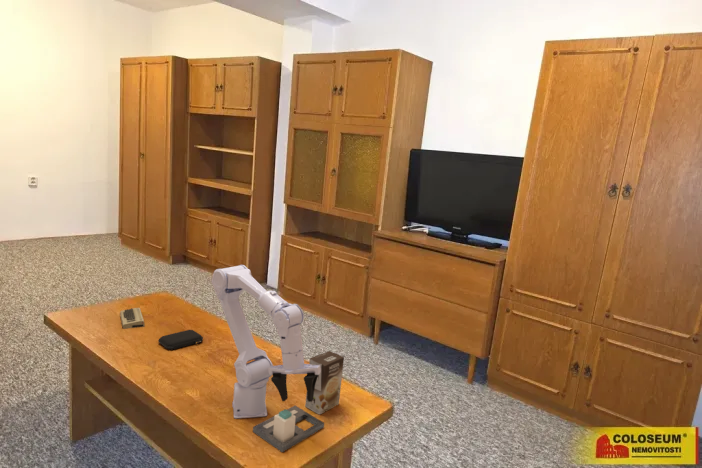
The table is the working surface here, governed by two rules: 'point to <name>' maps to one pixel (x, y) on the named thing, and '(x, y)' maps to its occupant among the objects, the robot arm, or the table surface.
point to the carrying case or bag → (180, 339)
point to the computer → (132, 318)
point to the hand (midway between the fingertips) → (297, 400)
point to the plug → (284, 426)
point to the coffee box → (326, 382)
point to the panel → (267, 430)
